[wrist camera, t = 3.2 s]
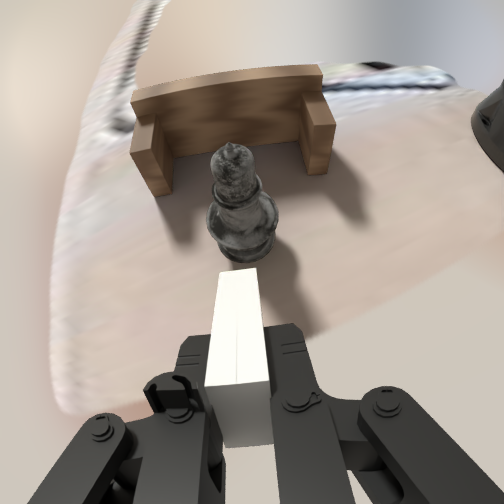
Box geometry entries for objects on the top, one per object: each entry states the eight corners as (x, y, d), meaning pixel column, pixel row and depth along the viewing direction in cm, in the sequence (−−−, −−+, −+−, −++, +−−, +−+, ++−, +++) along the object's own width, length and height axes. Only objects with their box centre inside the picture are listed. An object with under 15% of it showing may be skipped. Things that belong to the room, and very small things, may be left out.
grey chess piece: (288, 221, 29) (293, 124, 18) (262, 276, 27) (253, 195, 16) (231, 200, 30) (210, 104, 19) (202, 251, 28) (161, 166, 17)
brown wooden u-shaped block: (311, 127, 34) (317, 64, 25) (326, 173, 31) (339, 106, 22) (158, 149, 34) (133, 90, 26) (154, 197, 31) (121, 137, 23)
